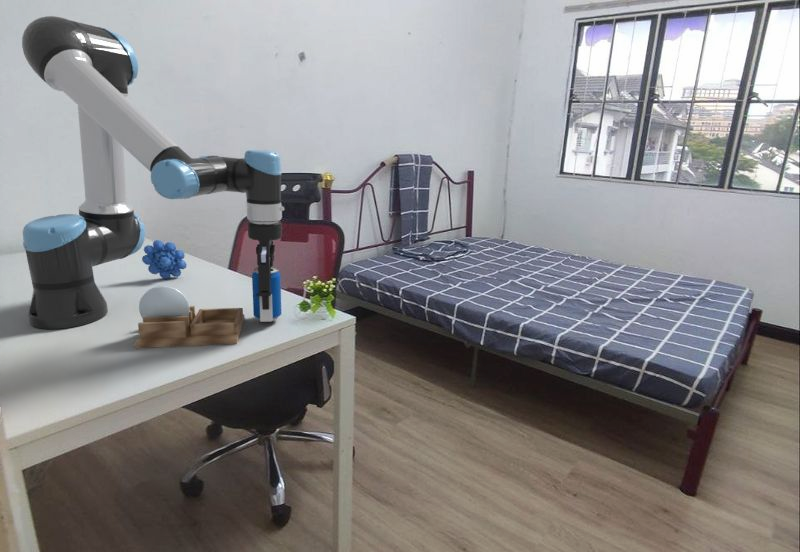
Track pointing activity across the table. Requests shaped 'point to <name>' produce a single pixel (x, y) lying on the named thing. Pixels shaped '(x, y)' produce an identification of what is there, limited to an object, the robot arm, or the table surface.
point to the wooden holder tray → (192, 328)
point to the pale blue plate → (163, 303)
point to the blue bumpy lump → (164, 259)
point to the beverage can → (274, 290)
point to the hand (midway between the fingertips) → (267, 314)
